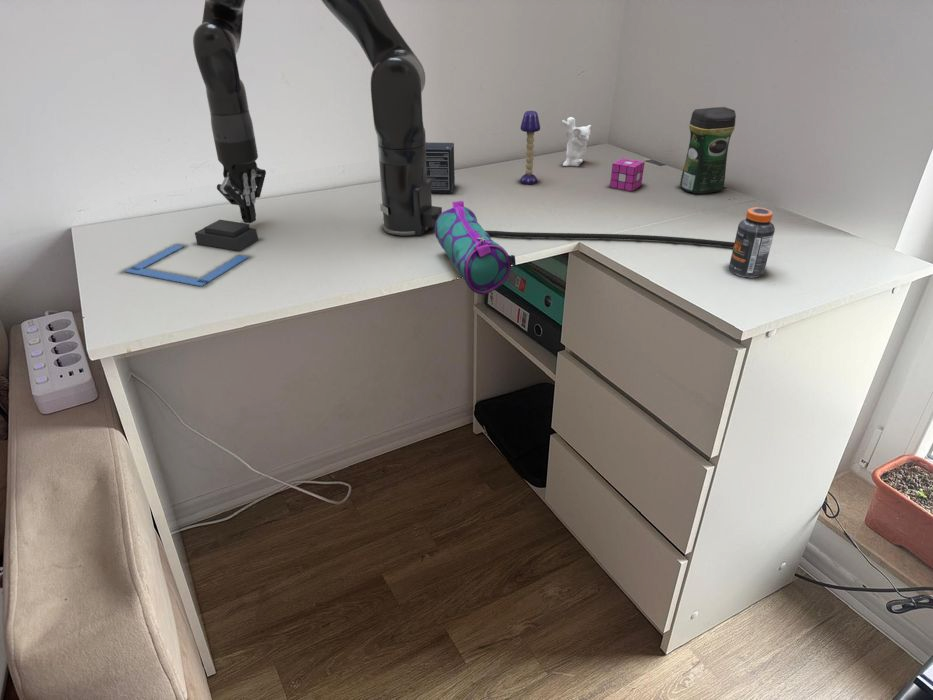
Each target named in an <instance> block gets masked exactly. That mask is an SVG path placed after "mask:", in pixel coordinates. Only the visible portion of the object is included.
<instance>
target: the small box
mask: <svg viewBox="0 0 933 700" xmlns="http://www.w3.org/2000/svg"><path fill="white" fill-rule="evenodd" d="M426 168H427V180H430V181H431V194H453V192H454V189H455V185H456V182H455V181H456V180H455V142H430V141H429V142H428V141H426Z"/></svg>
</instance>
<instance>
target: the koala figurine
mask: <svg viewBox="0 0 933 700" xmlns="http://www.w3.org/2000/svg"><path fill="white" fill-rule="evenodd" d="M561 123H562V124H563V125H564V126H565V127H566V129H565V136H566V138H567V139H568V140H567V141H568V142H567V143H566V152H565V156H566V159H565V160H564V162H563V163H562V166H563V167H569V166H571V167H579V166H580V165H581V164H582V163H583V159H582V158H583V157H584V156H585V155H586V154H587V152H588V150H587V146H588V141H590V136H591V132H592V128H593V126H592V124H588V125H586V126H585V125H583V126H579V127H578V126H576V118H575V117H572V116H569V117H567V119H566V120H565V119H562V120H561Z"/></svg>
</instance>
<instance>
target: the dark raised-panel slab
mask: <svg viewBox="0 0 933 700" xmlns="http://www.w3.org/2000/svg"><path fill="white" fill-rule="evenodd" d="M194 236H195V240H196V244H197V245H199V246H200V245H201V246H206V247H212V248H218V249H219V248H220V249H224V250H231V251H236V252H240V251H242V250H244V249H245V248H247V247H249V246H251V245H252V244H254V243H256V242H258V240H259V237H258V231H257V228H255V227H254V228H253V227H250V223H245V222H239V221H233V220H227V219H218V220H216V221H214V222H212V223H210V224H209V225H207V226H205V227H203V228H201V229H199V230H197V231H195V232H194Z"/></svg>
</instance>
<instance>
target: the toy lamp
mask: <svg viewBox="0 0 933 700" xmlns="http://www.w3.org/2000/svg"><path fill="white" fill-rule="evenodd" d="M540 130H541V123H540V119H539V113H538V112H537V111H536V110H527V111H524V113H523V117H522V120H521V123H520V131H521V132H525V133H526V151H525V155H526V157H525V170H524V171H525V173H524V174H523V175H521V177H520V180H519V182H520V183H521V184H523V185H535V184H537V183H538V178H537V176H536V175H535V174H533V172H534V171H533V167H534V163H533V162H534V153H535V152H534V148H535V144H534V142H535V137H534V136H535V133H537V132H539V131H540Z"/></svg>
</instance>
